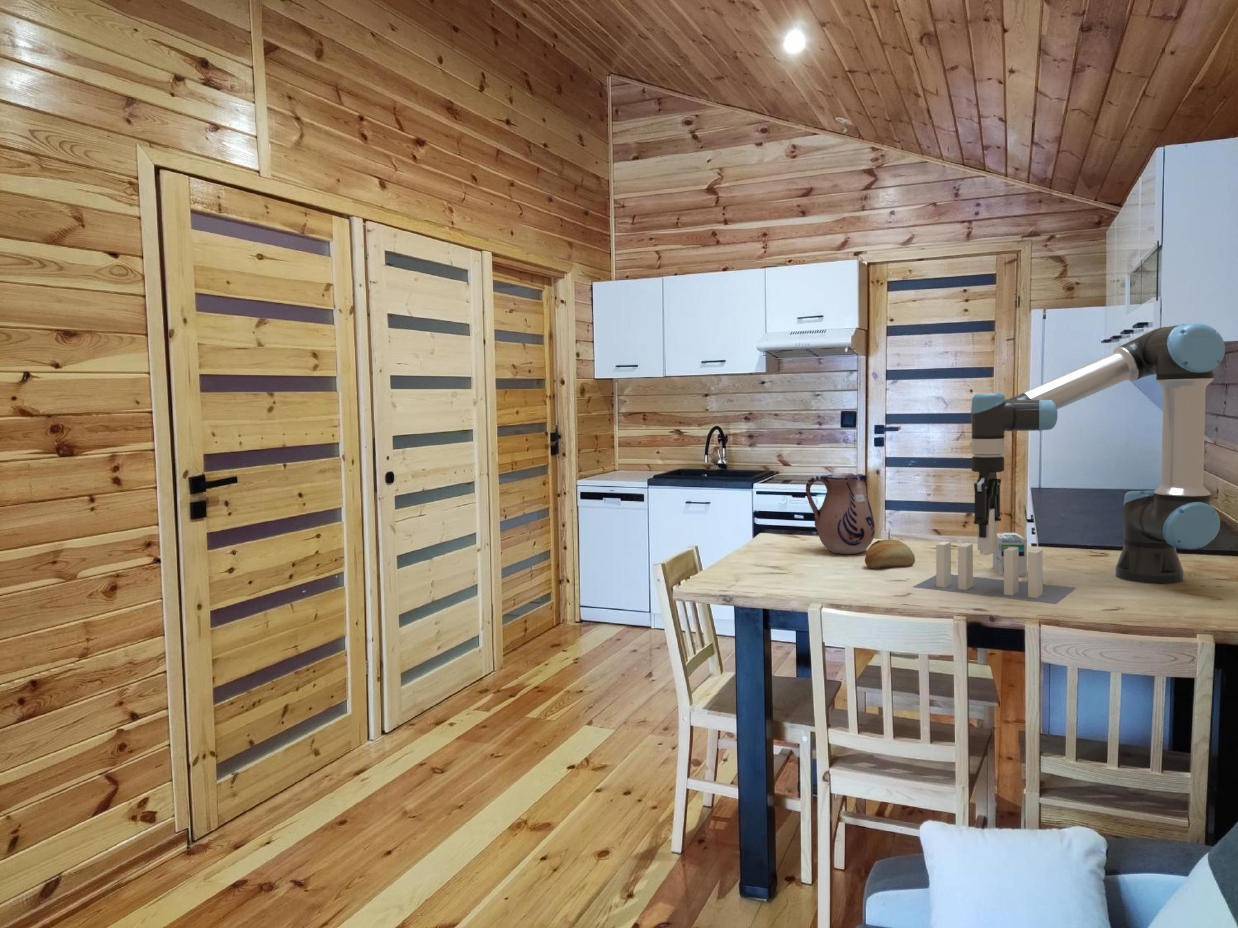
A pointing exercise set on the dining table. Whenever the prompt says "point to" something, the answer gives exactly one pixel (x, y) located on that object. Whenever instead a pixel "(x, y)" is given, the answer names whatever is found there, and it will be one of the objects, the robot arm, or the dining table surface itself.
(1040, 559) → the domino
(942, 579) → the domino
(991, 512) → the domino
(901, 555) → the bread roll
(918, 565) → the dining table surface
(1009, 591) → the domino
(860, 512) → the ceramic pitcher
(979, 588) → the mat
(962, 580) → the domino
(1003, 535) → the light bulb box
